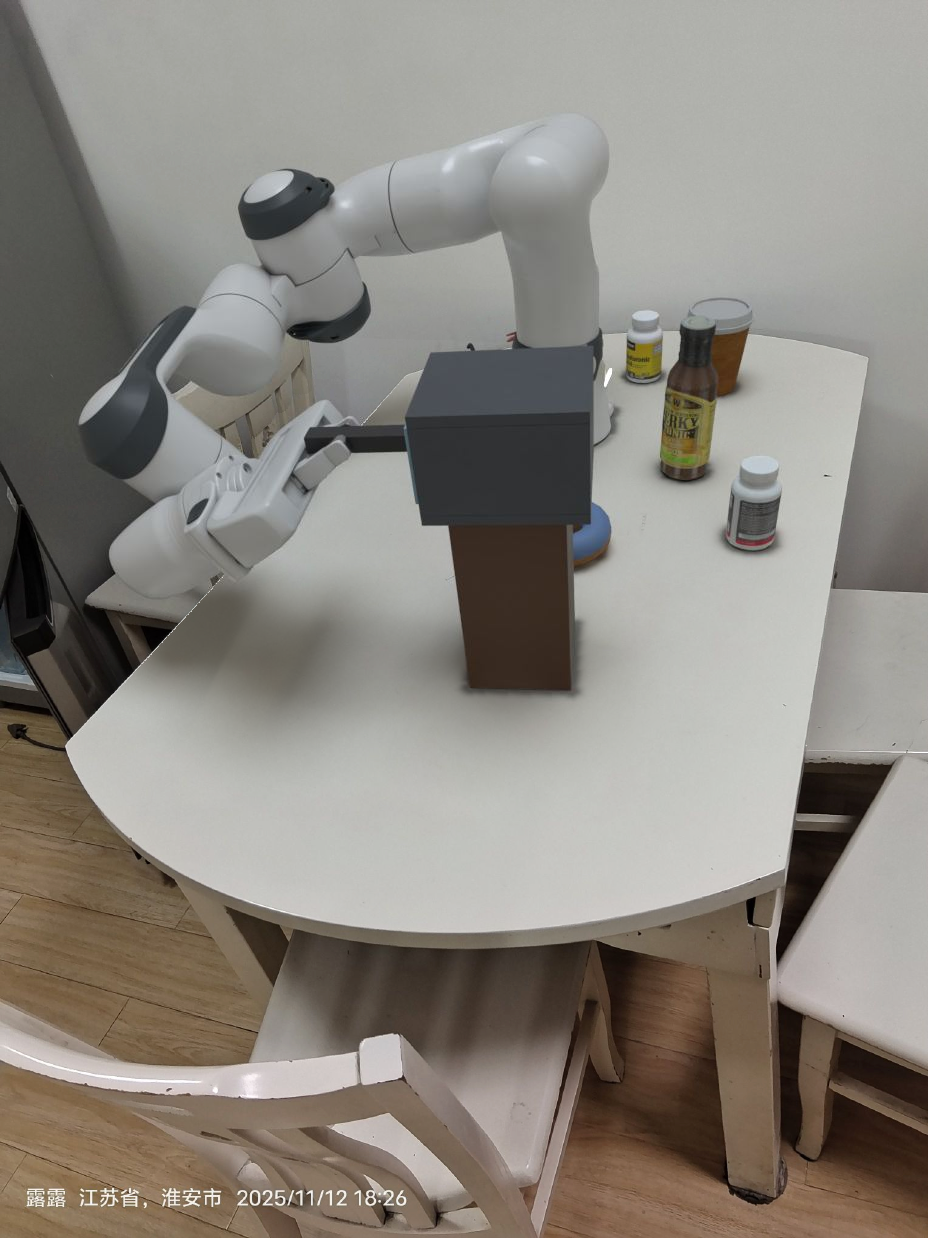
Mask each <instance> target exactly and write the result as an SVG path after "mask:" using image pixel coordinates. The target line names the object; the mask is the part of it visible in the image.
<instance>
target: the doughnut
mask: <svg viewBox="0 0 928 1238" xmlns="http://www.w3.org/2000/svg"><path fill="white" fill-rule="evenodd" d="M573 530H577V531H576V532H573V557H574V567H575V566H581V565H583V564H586V563H588V562H591V561H593V560H595V559H596V558H597V557H599V556H600V555H601V554H603V552H604V551H605V550H606V549H607V547H608V546H609V544H610V541H611V537H612V525H611V520H610V516H609V515H608V513H607V512H606V511H605V510H604V509H603V508H602V506H600V505H598V504H597V503H595V502H594V501H592V506H591V524H590V525H573Z"/></svg>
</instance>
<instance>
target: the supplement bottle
mask: <svg viewBox="0 0 928 1238" xmlns="http://www.w3.org/2000/svg"><path fill="white" fill-rule="evenodd" d="M659 324H660V314H659V312H657V311H656V310H649V309H648V310H645V309H643V310H638V311H636V312H634V313H632V315H631V328H629V329H628V330H627V333H626V351H625V353H626V354H625V355H626V356H625V376H626V378H627V380H628V381H631V382H633V383H637V384H649V383H653V382H655V381H657V380H658V379H659V378H660V377H661V375H662V363H663V344H664V343H663V341H664V332H663V329H662V328H661V327H660V326H659Z"/></svg>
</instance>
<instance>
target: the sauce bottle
mask: <svg viewBox="0 0 928 1238" xmlns="http://www.w3.org/2000/svg"><path fill="white" fill-rule="evenodd" d="M715 331H716V321H715V320H714V319H712V318H710V317H706V316H691V317H687V318H683V319H682V320H681V322H680V325H679V335H680V342H679V351H678V359H677V361H676V362H675V363H674V364H673V366H672V367H671V368H670V370H669V372H668V376H667V380H666V386H665V390H664V392H665V393H664V403H663V413H662V421H661V422H662V423H661V436H660V449H659V456H660V457H659V458H660V470H661V471H662V472H663V474H665V475H666V476H668V477H669V478H673V479H677V480H682V481H691V480H694V479H698V478H701V477H702V476H704V475H705V473H706V472H707V470H708V462H709V460H710V456H711V448H712V440H713V439H712V438H713V431H714V424H715V415H716V409H717V401H718V399H717V398H718V396H717V386H718V373H717V371H716V368H715V366H714V365H713V364H712V362H711V357H712V343H713V337H714V335H715Z"/></svg>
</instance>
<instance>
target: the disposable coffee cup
mask: <svg viewBox="0 0 928 1238" xmlns="http://www.w3.org/2000/svg"><path fill="white" fill-rule="evenodd" d="M691 316H706V317H710V318H712V319H714V320H715V321H716V331H715V335H714V337H713V343H712V357H711V362H712V364H713V365H714V366H715V368H716V371H717V373H718V386H717V397H718V396H722V395H724V396H725V395H728V394H730V393H732V392H733V391H734V390H735V388H736V385H737V382H738V381H737V380H738V376H739V372H740V368H741V364H742V361H743V355H744V352H745V347H746V343H747V339H748V335H749V331H750V327H751V326H752V324H753V322H754V321H755V313H754V312H753V306H752V304H751V303H750V302H749V301H747V300H745V299H741V298H737V297H731V296H712V297H707V298H703V299H699V300H696V301H695V302H693V303H692V304H691V305H690V306H689V309H688V312H686V314H685V318H687V317H691ZM685 318H684V319H685Z"/></svg>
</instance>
